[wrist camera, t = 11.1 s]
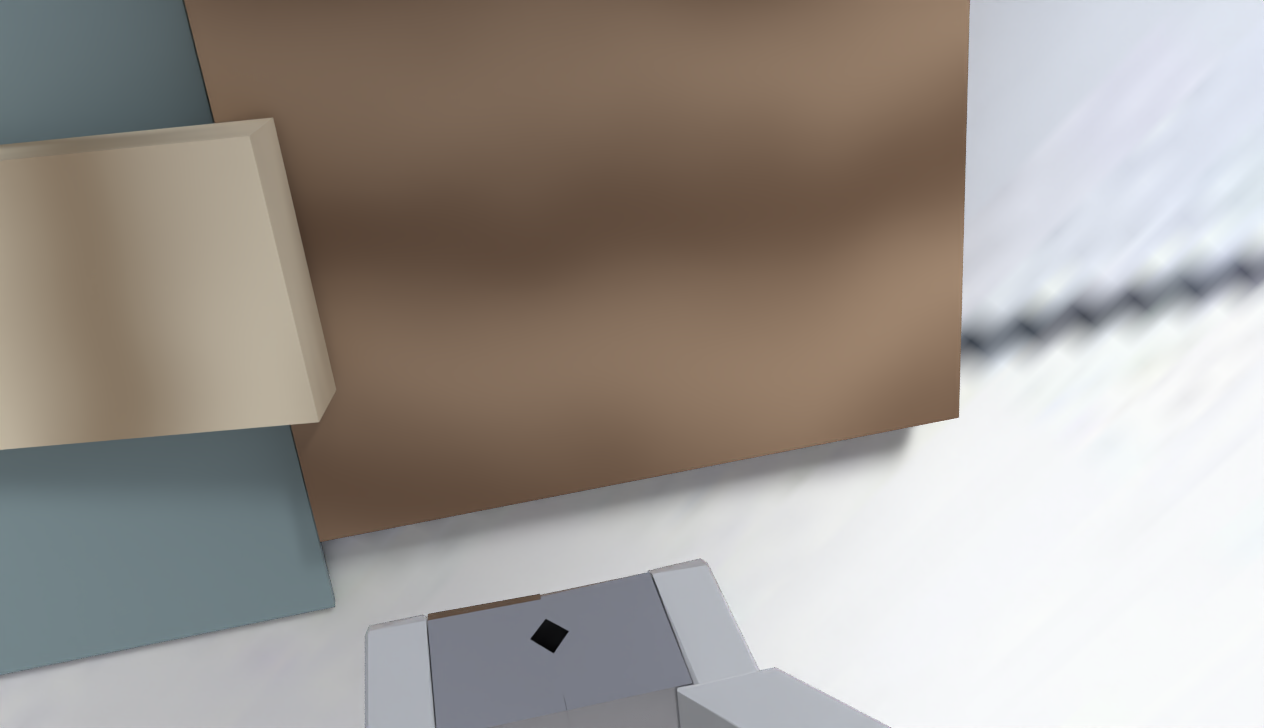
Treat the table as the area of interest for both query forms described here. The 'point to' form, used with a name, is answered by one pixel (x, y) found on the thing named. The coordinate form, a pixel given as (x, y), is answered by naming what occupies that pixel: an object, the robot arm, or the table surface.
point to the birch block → (154, 288)
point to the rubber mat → (150, 466)
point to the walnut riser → (606, 232)
